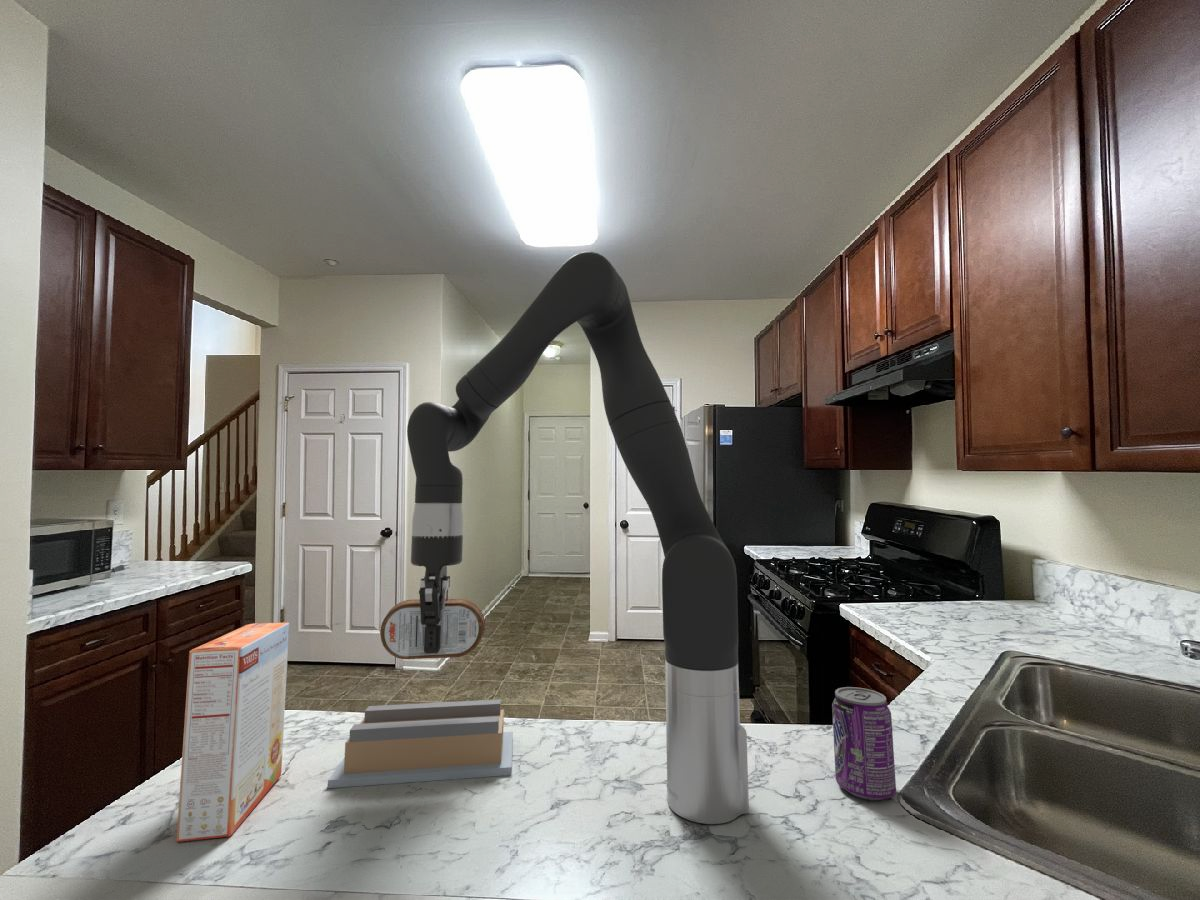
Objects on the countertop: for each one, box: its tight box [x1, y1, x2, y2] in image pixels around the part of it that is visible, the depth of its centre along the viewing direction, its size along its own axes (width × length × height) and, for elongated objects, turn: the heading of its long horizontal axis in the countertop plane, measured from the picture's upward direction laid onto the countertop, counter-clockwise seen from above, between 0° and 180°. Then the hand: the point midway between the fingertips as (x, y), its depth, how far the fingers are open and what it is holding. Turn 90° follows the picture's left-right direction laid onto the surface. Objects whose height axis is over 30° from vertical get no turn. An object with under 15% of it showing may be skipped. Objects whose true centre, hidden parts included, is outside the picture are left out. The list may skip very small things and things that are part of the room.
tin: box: [379, 598, 486, 660], centre depth 79 cm, size 15×3×8 cm, turn 100°
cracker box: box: [176, 622, 290, 843], centre depth 66 cm, size 14×6×21 cm, turn 10°
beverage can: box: [831, 686, 897, 801], centre depth 69 cm, size 7×7×12 cm
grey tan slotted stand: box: [327, 699, 514, 789], centre depth 77 cm, size 24×12×7 cm, turn 98°
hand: (433, 649), depth 79 cm, fingers closed on tin, 2 cm apart
